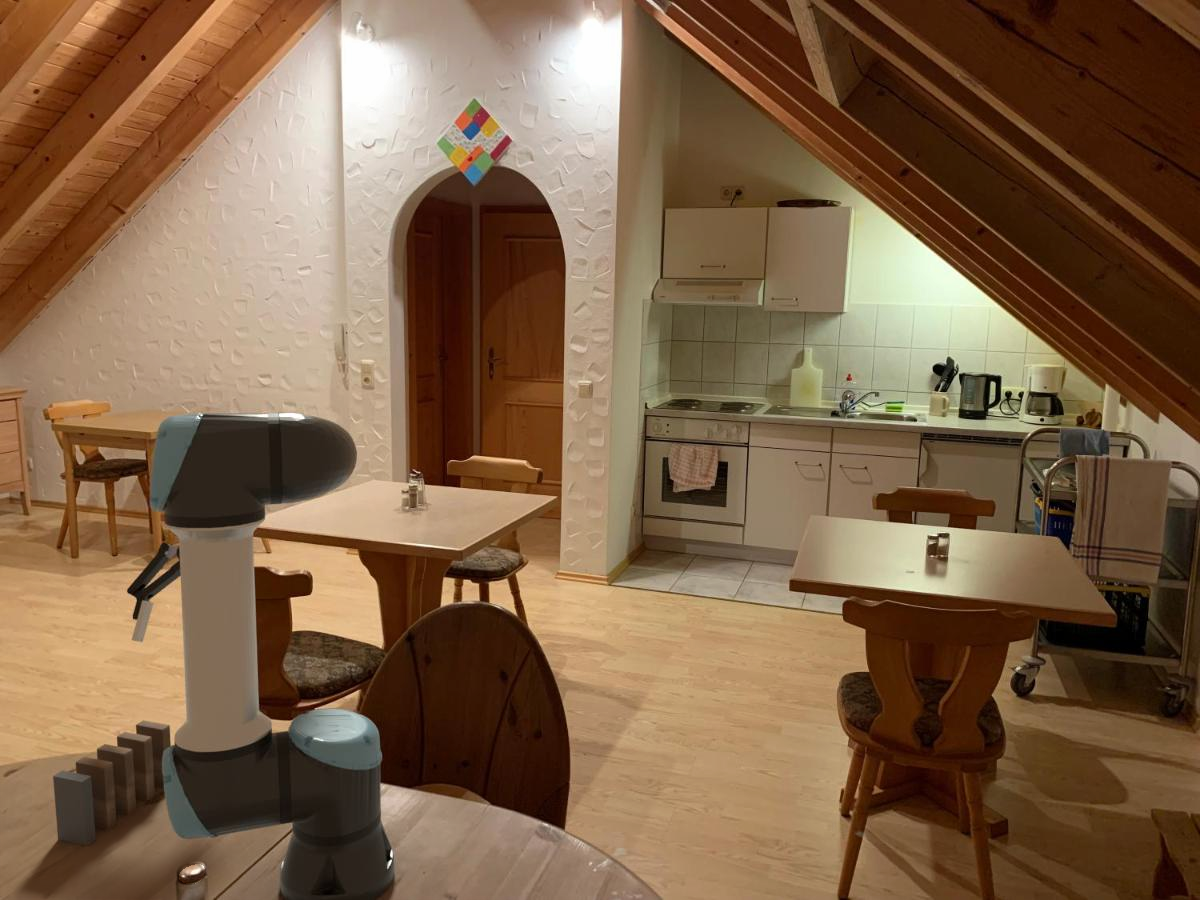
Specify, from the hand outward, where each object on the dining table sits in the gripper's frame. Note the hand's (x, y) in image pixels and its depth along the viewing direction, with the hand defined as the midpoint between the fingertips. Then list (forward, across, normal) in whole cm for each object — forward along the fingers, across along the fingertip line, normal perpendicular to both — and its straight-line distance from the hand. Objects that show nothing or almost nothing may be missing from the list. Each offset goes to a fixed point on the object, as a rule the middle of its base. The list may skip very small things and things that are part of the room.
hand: (178, 647), depth 149 cm
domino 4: (+23, +1, -1) cm, 23 cm away
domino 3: (+25, +2, +3) cm, 25 cm away
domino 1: (+29, +4, +9) cm, 30 cm away
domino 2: (+27, +3, +6) cm, 28 cm away
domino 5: (+21, 0, -4) cm, 22 cm away
